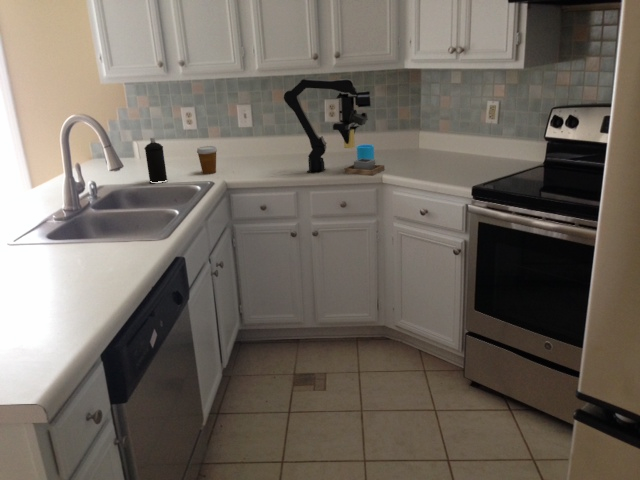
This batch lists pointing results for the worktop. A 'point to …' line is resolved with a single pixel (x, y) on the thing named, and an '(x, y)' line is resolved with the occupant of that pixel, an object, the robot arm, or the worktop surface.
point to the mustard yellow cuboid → (350, 140)
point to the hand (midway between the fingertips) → (349, 142)
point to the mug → (365, 152)
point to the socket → (364, 164)
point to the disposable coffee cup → (207, 159)
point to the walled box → (364, 172)
